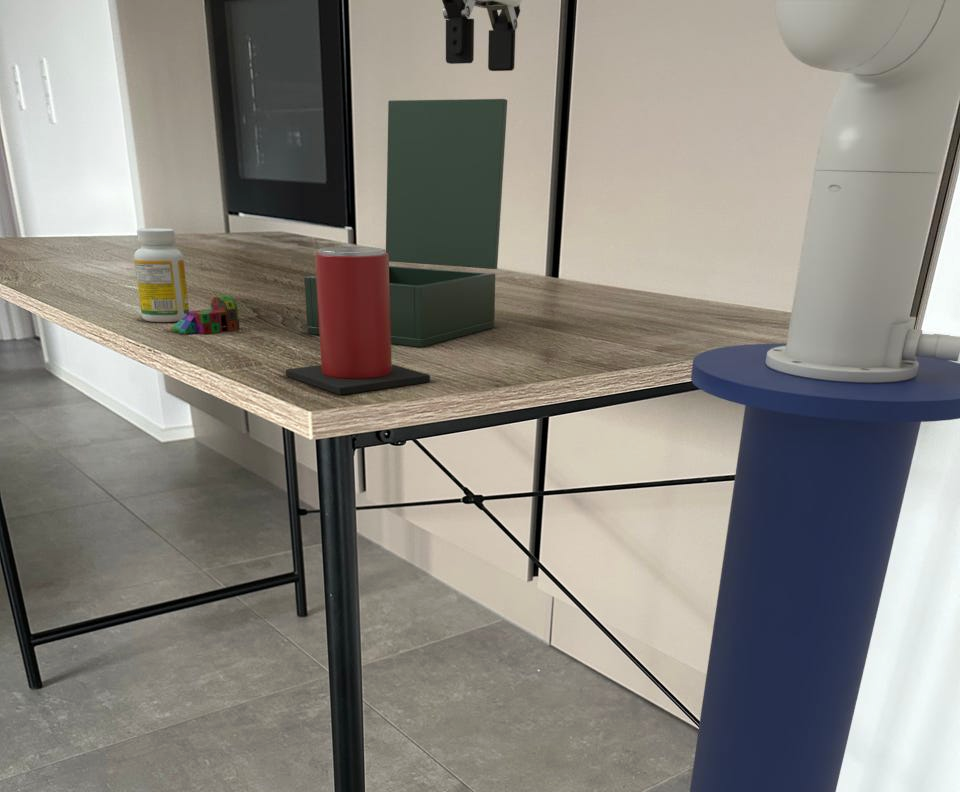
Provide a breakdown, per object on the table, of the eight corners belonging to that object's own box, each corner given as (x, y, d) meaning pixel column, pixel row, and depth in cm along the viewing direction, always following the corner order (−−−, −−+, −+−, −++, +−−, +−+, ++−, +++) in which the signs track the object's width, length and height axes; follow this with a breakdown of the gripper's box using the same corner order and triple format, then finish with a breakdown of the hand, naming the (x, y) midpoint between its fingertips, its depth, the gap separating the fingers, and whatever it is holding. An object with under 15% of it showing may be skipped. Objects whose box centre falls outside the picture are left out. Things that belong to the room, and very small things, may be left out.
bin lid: (504, 98, 98) (523, 105, 102) (388, 100, 104) (410, 106, 108) (494, 269, 104) (512, 269, 108) (385, 261, 111) (406, 261, 114)
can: (405, 370, 82) (402, 249, 77) (365, 382, 77) (360, 254, 73) (349, 362, 84) (343, 245, 80) (307, 373, 80) (299, 249, 75)
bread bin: (421, 347, 95) (420, 286, 93) (307, 333, 102) (303, 276, 99) (494, 327, 108) (495, 273, 105) (388, 316, 114) (387, 265, 111)
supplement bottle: (162, 324, 106) (150, 231, 101) (132, 319, 108) (119, 229, 104) (200, 318, 110) (190, 229, 105) (170, 314, 112) (159, 227, 108)
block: (217, 325, 106) (214, 293, 104) (239, 329, 103) (236, 296, 102) (171, 331, 102) (167, 297, 100) (192, 335, 99) (188, 301, 98)
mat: (430, 382, 81) (430, 374, 80) (340, 395, 75) (339, 387, 75) (372, 365, 87) (372, 358, 86) (285, 376, 82) (285, 369, 81)
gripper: (474, -152, 89) (472, 59, 97) (551, -110, 103) (544, 72, 111) (408, -143, 93) (411, 61, 100) (491, -103, 106) (488, 74, 114)
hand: (481, 66), depth 106 cm, fingers open, 9 cm apart
